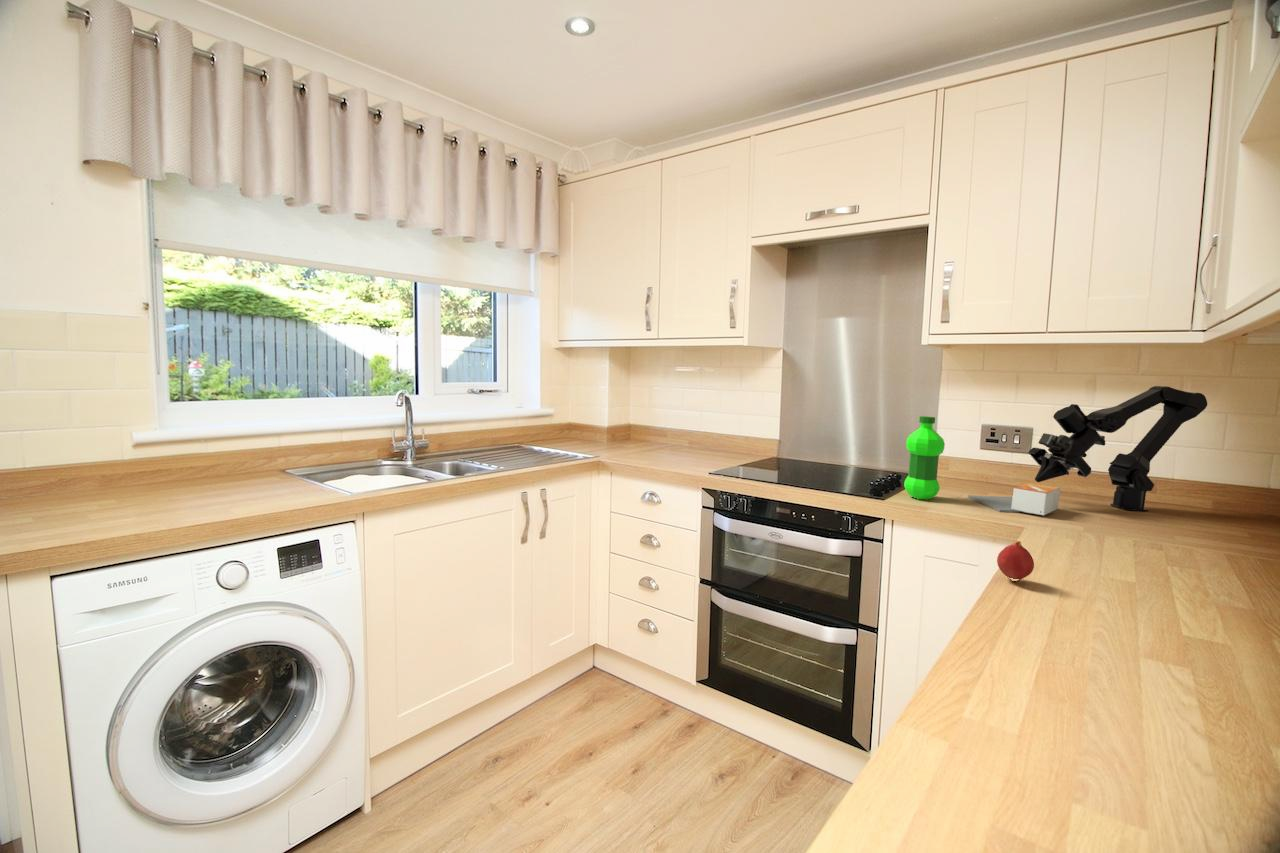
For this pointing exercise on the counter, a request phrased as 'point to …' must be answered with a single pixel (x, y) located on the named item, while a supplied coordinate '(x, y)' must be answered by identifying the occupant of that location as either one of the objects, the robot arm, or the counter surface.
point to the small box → (1035, 498)
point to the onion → (1015, 561)
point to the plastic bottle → (924, 460)
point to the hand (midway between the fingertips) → (1036, 480)
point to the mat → (996, 502)
